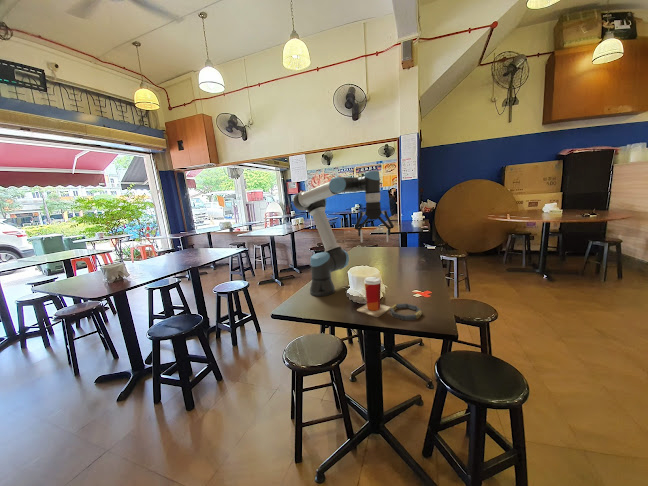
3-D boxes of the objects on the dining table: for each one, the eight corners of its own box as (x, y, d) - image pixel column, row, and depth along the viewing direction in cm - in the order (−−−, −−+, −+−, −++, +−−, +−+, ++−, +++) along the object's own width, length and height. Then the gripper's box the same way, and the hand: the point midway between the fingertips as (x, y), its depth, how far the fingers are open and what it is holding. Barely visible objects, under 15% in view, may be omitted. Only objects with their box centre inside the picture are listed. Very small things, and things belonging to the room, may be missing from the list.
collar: (385, 314, 117) (385, 310, 116) (399, 305, 126) (399, 301, 125) (412, 322, 108) (412, 318, 107) (425, 312, 117) (425, 307, 116)
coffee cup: (373, 303, 129) (372, 275, 126) (385, 308, 122) (384, 278, 119) (361, 308, 124) (360, 279, 121) (373, 313, 117) (372, 283, 115)
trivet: (356, 310, 123) (356, 309, 123) (370, 302, 131) (370, 301, 131) (377, 317, 115) (377, 316, 115) (391, 308, 123) (391, 307, 123)
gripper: (348, 203, 130) (350, 243, 134) (397, 200, 123) (398, 242, 127) (350, 203, 137) (352, 240, 141) (398, 200, 130) (398, 240, 134)
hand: (374, 241), depth 134 cm, fingers open, 13 cm apart
